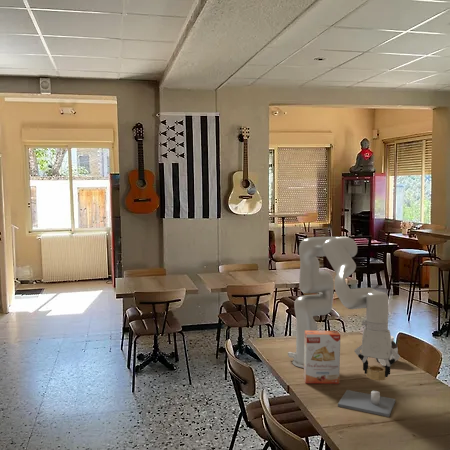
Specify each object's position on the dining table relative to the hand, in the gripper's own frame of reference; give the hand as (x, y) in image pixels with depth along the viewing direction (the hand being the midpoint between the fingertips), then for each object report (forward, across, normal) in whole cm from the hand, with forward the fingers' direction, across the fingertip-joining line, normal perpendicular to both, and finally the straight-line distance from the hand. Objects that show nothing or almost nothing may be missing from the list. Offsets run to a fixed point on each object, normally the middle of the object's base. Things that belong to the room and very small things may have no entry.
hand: (376, 373), depth 173 cm
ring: (+1, 0, 0) cm, 1 cm away
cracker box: (+12, -24, +13) cm, 30 cm away
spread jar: (+12, -4, +49) cm, 51 cm away
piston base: (+12, -3, 0) cm, 12 cm away
